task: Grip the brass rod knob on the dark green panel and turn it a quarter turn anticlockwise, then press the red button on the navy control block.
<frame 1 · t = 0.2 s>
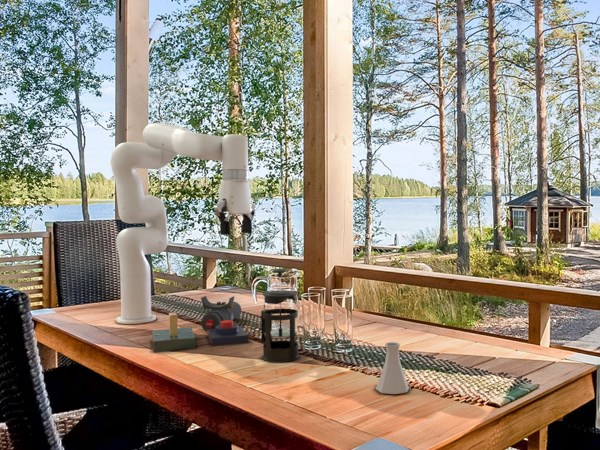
hand: (236, 233, 170), 31 cm above the table, tool pointing down, fingers open, 9 cm apart
red button: (227, 324, 167), point 4 cm above the table, slide at 0.1 cm
french press: (279, 357, 148), on the table
flask: (392, 390, 123), on the table
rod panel: (173, 344, 161), on the table
button block: (227, 339, 167), on the table
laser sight: (222, 326, 185), on the table
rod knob: (173, 323, 161), point 6 cm above the table, hinge at 0.0°
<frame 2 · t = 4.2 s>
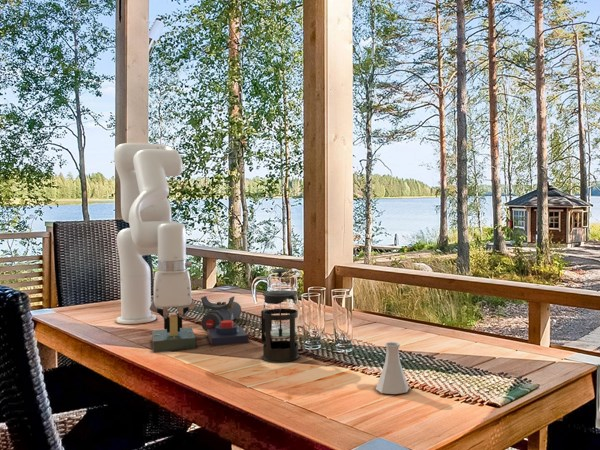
hand: (173, 330, 161), 4 cm above the table, tool pointing down, fingers closed on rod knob, 2 cm apart
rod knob: (173, 323, 161), point 6 cm above the table, hinge at 0.0°, touching gripper
everything else where it was.
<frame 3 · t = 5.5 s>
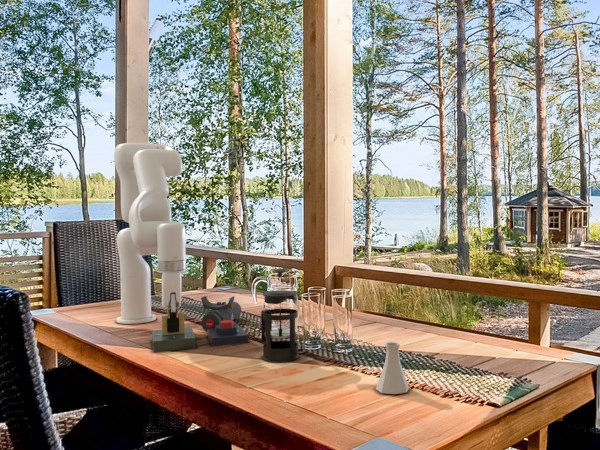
hand: (173, 330, 161), 4 cm above the table, tool pointing down, fingers closed on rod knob, 2 cm apart
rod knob: (173, 323, 161), point 6 cm above the table, hinge at 89.3°, touching gripper
everything else where it was.
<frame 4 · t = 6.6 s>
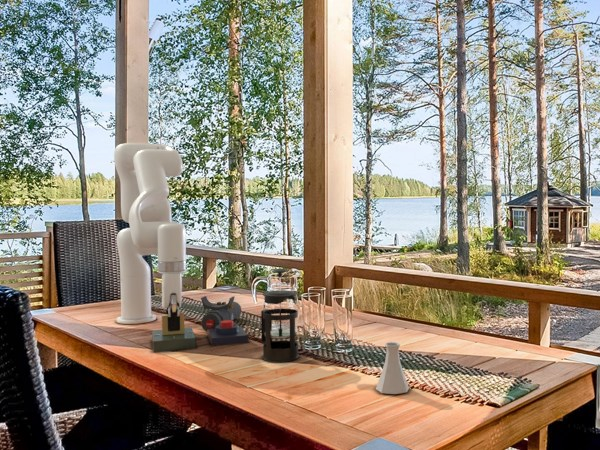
hand: (173, 327, 161), 5 cm above the table, tool pointing down, fingers open, 9 cm apart
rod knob: (173, 323, 161), point 6 cm above the table, hinge at 89.3°
everything else where it was.
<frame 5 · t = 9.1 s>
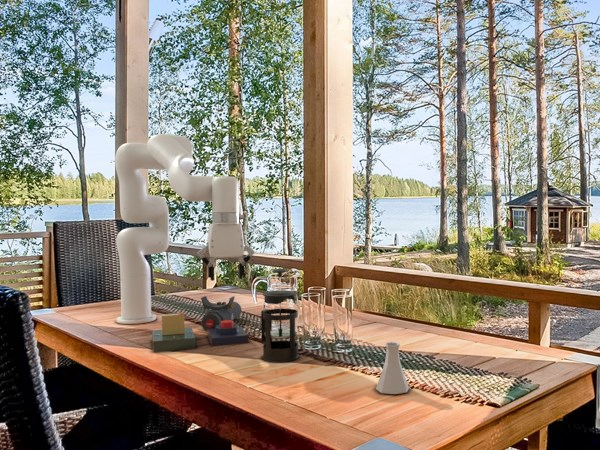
hand: (226, 278, 166), 18 cm above the table, tool pointing down, fingers open, 7 cm apart
nothing on the table moved.
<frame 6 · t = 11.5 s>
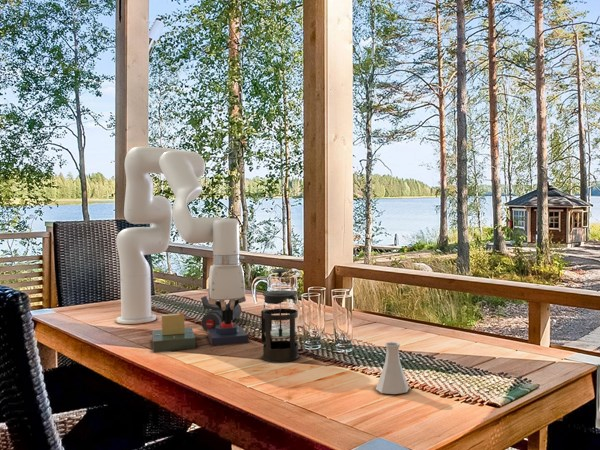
hand: (227, 322, 167), 5 cm above the table, tool pointing down, fingers closed
red button: (227, 325, 167), point 4 cm above the table, slide at -0.3 cm, touching gripper
everything else where it was.
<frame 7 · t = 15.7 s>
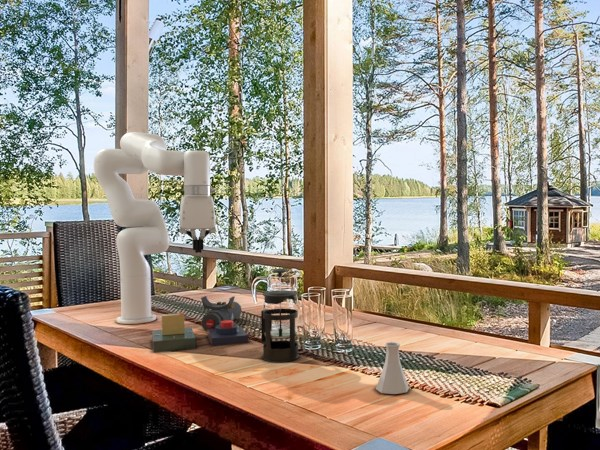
hand: (198, 252, 172), 25 cm above the table, tool pointing down, fingers closed
red button: (227, 324, 167), point 4 cm above the table, slide at 0.1 cm
everything else where it was.
at the end: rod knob at +89° (first picture: +0°); red button pushed in 1.1 cm at the most during the clip and back out by the end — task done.
